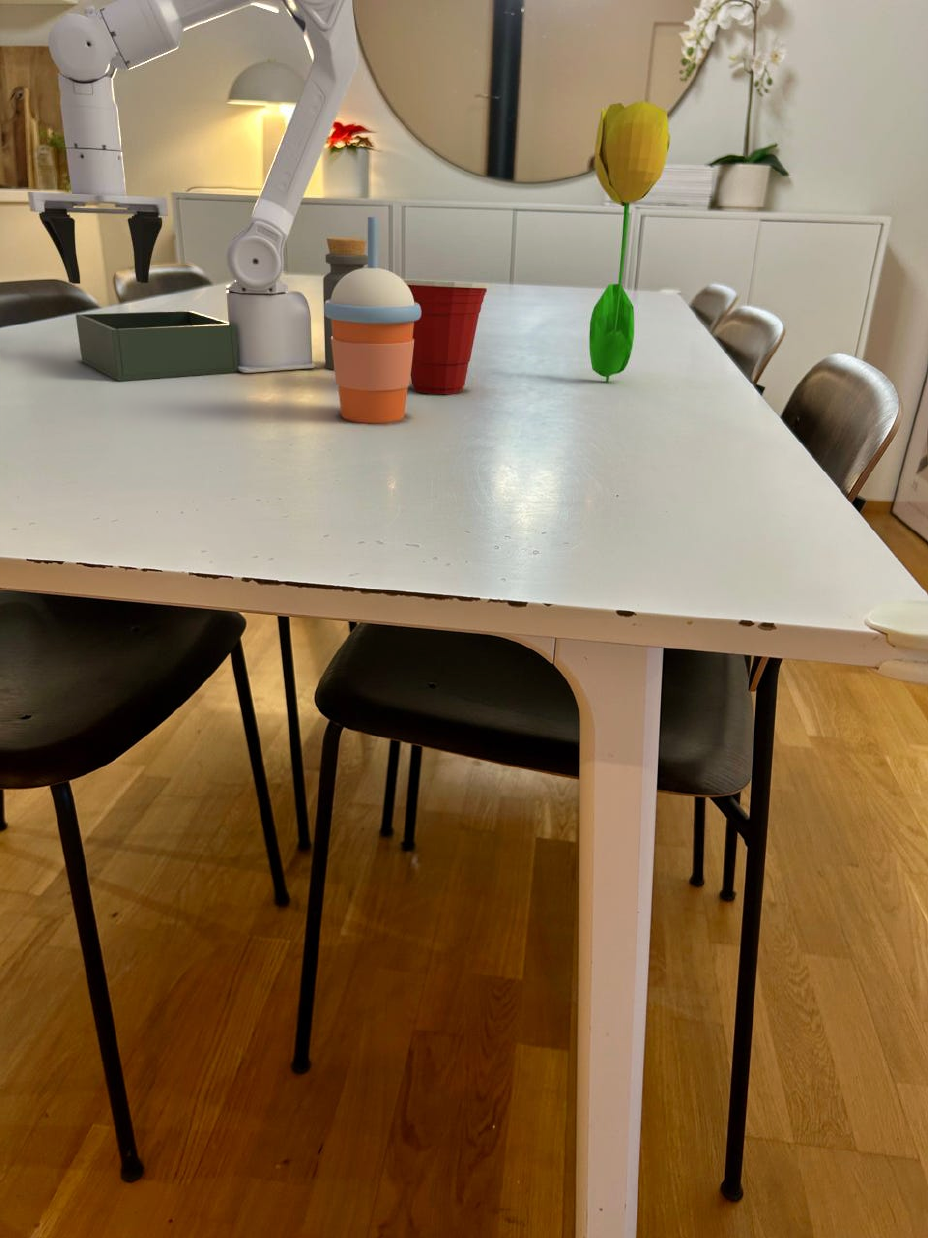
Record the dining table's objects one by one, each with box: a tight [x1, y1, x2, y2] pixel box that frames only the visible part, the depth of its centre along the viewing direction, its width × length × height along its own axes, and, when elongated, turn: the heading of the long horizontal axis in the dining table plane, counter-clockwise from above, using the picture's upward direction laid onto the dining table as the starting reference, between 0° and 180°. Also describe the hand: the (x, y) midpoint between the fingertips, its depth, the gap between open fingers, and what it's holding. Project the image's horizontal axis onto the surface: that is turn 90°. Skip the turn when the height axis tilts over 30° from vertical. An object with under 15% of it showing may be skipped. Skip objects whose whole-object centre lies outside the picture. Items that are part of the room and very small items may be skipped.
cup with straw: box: [323, 216, 421, 424], centre depth 85 cm, size 9×9×18 cm
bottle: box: [322, 237, 368, 370], centre depth 111 cm, size 6×6×15 cm
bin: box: [75, 310, 240, 382], centre depth 108 cm, size 14×14×6 cm
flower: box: [588, 100, 671, 384], centre depth 105 cm, size 9×8×30 cm
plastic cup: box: [402, 279, 491, 395], centre depth 100 cm, size 11×11×12 cm
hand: (109, 282), depth 104 cm, fingers open, 7 cm apart
